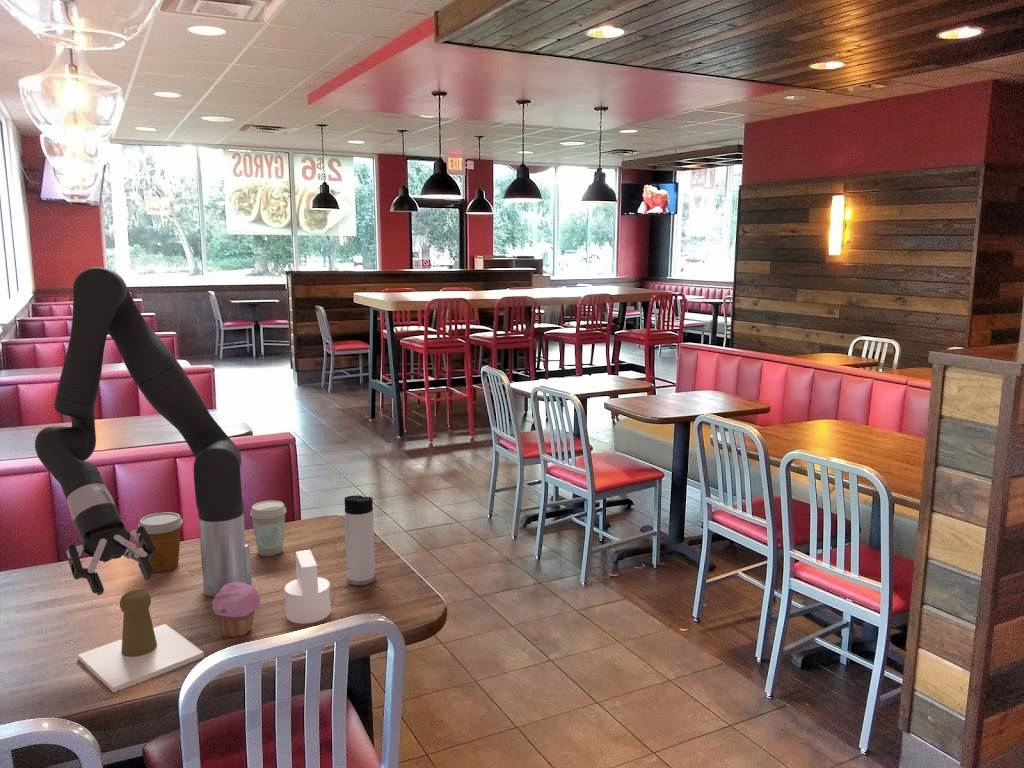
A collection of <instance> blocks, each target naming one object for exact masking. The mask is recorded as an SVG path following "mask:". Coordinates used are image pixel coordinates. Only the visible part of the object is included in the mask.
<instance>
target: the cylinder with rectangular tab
mask: <svg viewBox="0 0 1024 768" xmlns="http://www.w3.org/2000/svg"><path fill="white" fill-rule="evenodd" d="M295 567H296V569H295V570H296V579H293V580H291V581H290V582H287V584H285V586H284V602H285V618H286V619H287V620H288V621H289V622H291V623H295V624H312V623H315V622H320V621H322V620H324V619H326V618H327V617H328V616H330V615H331V606H332V605H331V584H330V581H329V580H328V579H326V578H324V577H320V576H318V565H317V562H316V559H315V557H314V555H313V552H312V551H311V549H305V550H297V551H296V552H295Z"/></svg>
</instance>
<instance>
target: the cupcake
mask: <svg viewBox="0 0 1024 768" xmlns="http://www.w3.org/2000/svg"><path fill="white" fill-rule="evenodd" d="M260 599H261V597H260V594H259V591H258V590H257V588H256V586H253V585H252V586H251V585H248V584H245V583H242V582H232V583H228V584H226V585H224V586H223V587H222V588H221V589H220V591H219V592H218V593H217V594H216V596H215V597H213V599H212V602H211V603H212V604H211V610H212V612H213V613H214V614H215V615H216V617H217V619H218V623H219V631H220V633H221V635H222V636H224V637H226V638H234V637H235V638H237V637H243V636H244V635H246V634H247V633H248V632H249V631H250V630H251V629H252V628H253V624H254V616H255V612H256V609H257V608H259V606H260V604H261V600H260Z"/></svg>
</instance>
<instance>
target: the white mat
mask: <svg viewBox="0 0 1024 768" xmlns="http://www.w3.org/2000/svg"><path fill="white" fill-rule="evenodd" d="M153 629H154V633H155V638H156V642H157V647H156V648H155V650H153V651H152V652H150V653H148V654H145V655H142V656H136V657H128V656H124V655H123V654H122V652H121V649H122V638H121V639H117V640H115V641H113V642H112V641H111V642H110V643H108V644H104V645H102V646H99V647H95V648H93V649H89V650H87V651H83V652H82V653H78V654H77V658H78V661H79V660H80V661H79V662H80V663H81V664H82V663H83V664H84V665H85V668H86V669H88V670H89V671H90V672H91V673H92V675H94V676H95V677H96V678H97V680H99V681H100V680H101V681H102V682H103V683H104V684H105V685H106V686H107V687H108V688H109V689H110V690H111V691H112V692H115V693H117V692H116V691H118V690H120V691H122V689H123V690H125V689H127V687H128V688H130V687H133V686H135V685H137V683H138V684H140V683H143V682H145V681H148V680H150V679H153V678H155V677H158V676H160V675H163V674H166V673H168V672H171V671H173V670H175V669H178V668H180V667H183V666H185V665H188V664H190V663H193V662H195V661H198V660H201V659H203V658H205V655H204V651H203V650H202V649H200V648H198V646H196V645H195V644H193V643H192V642H191V641H190V640H188V639H187V638H185V637H184V636H183V635H181V634H180V633H179V632H177V631H176V630H174V629H172V628H171V626H169V625H168V624H166V623H164V624H161V625H158V626H155V627H153ZM83 664H82V665H83ZM84 665H83V666H84ZM152 677H153V678H152ZM101 681H100V682H101ZM102 682H101V683H102ZM103 683H102V684H103ZM104 684H103V685H104ZM105 685H104V686H105ZM132 685H133V686H132ZM106 686H105V687H106ZM129 686H130V687H129ZM107 687H106V688H107ZM108 688H107V689H108ZM124 688H125V689H124ZM109 689H108V690H109ZM111 691H110V692H111ZM118 692H119V691H118Z"/></svg>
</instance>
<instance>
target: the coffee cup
mask: <svg viewBox="0 0 1024 768" xmlns="http://www.w3.org/2000/svg"><path fill="white" fill-rule="evenodd" d="M249 511H250V514H249V516H250V517H251V521H252V526H253V533H254V537H255V544H256V548H257V553H258V555H260V556H261V557H262V556H263V557H270V556H276V554H277V555H279V554H281V553H282V552H283V549H284V535H285V534H284V533H285V522H286V521H285V520H286V514H287V508H286V506H285V504H284V503H283V502H282V501H280V500H264V501H259V502H257V503H254V504H253V505H252V506H251V509H250V510H249Z"/></svg>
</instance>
